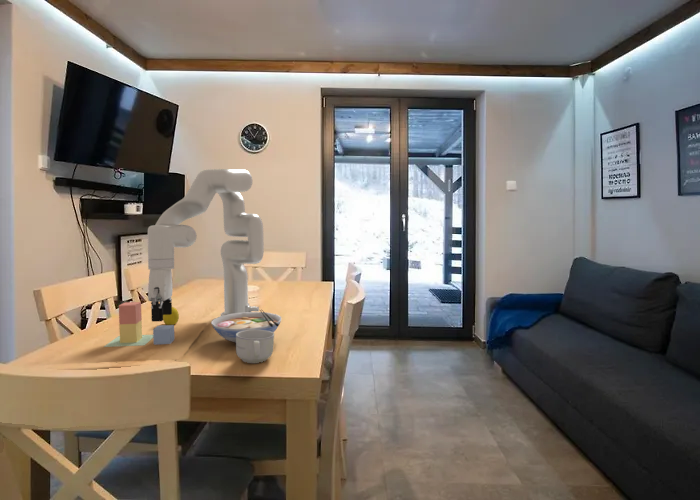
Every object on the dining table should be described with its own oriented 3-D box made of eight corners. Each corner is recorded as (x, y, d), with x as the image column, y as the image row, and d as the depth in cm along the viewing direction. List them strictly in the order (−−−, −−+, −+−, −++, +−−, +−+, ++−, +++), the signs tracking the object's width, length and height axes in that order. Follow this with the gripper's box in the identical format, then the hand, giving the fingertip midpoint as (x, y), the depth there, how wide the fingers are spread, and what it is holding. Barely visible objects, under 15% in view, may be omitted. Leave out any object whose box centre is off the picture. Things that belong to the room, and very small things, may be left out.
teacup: (239, 354, 126) (239, 328, 126) (276, 353, 127) (275, 327, 127) (230, 371, 112) (230, 342, 112) (271, 370, 113) (271, 341, 113)
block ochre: (142, 337, 139) (141, 320, 138) (136, 342, 134) (136, 323, 133) (126, 338, 138) (125, 320, 138) (120, 342, 133) (119, 324, 133)
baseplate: (156, 337, 143) (156, 334, 143) (144, 348, 131) (144, 345, 131) (119, 339, 141) (118, 335, 141) (103, 350, 129) (103, 346, 129)
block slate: (174, 342, 138) (174, 325, 137) (170, 347, 133) (169, 329, 132) (158, 343, 137) (157, 325, 136) (153, 348, 132) (153, 329, 131)
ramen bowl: (209, 334, 147) (209, 311, 146) (274, 328, 155) (274, 306, 154) (213, 357, 124) (212, 330, 123) (289, 348, 132) (289, 323, 131)
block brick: (141, 319, 138) (141, 302, 138) (136, 323, 133) (135, 305, 133) (125, 320, 138) (124, 302, 137) (119, 324, 133) (118, 305, 132)
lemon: (173, 329, 154) (172, 307, 153) (159, 328, 155) (159, 307, 154) (182, 325, 159) (181, 304, 158) (169, 324, 160) (168, 304, 159)
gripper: (157, 261, 140) (158, 312, 141) (139, 266, 123) (140, 324, 124) (180, 261, 142) (181, 312, 142) (165, 266, 124) (166, 323, 125)
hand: (162, 317), depth 133 cm, fingers open, 9 cm apart
